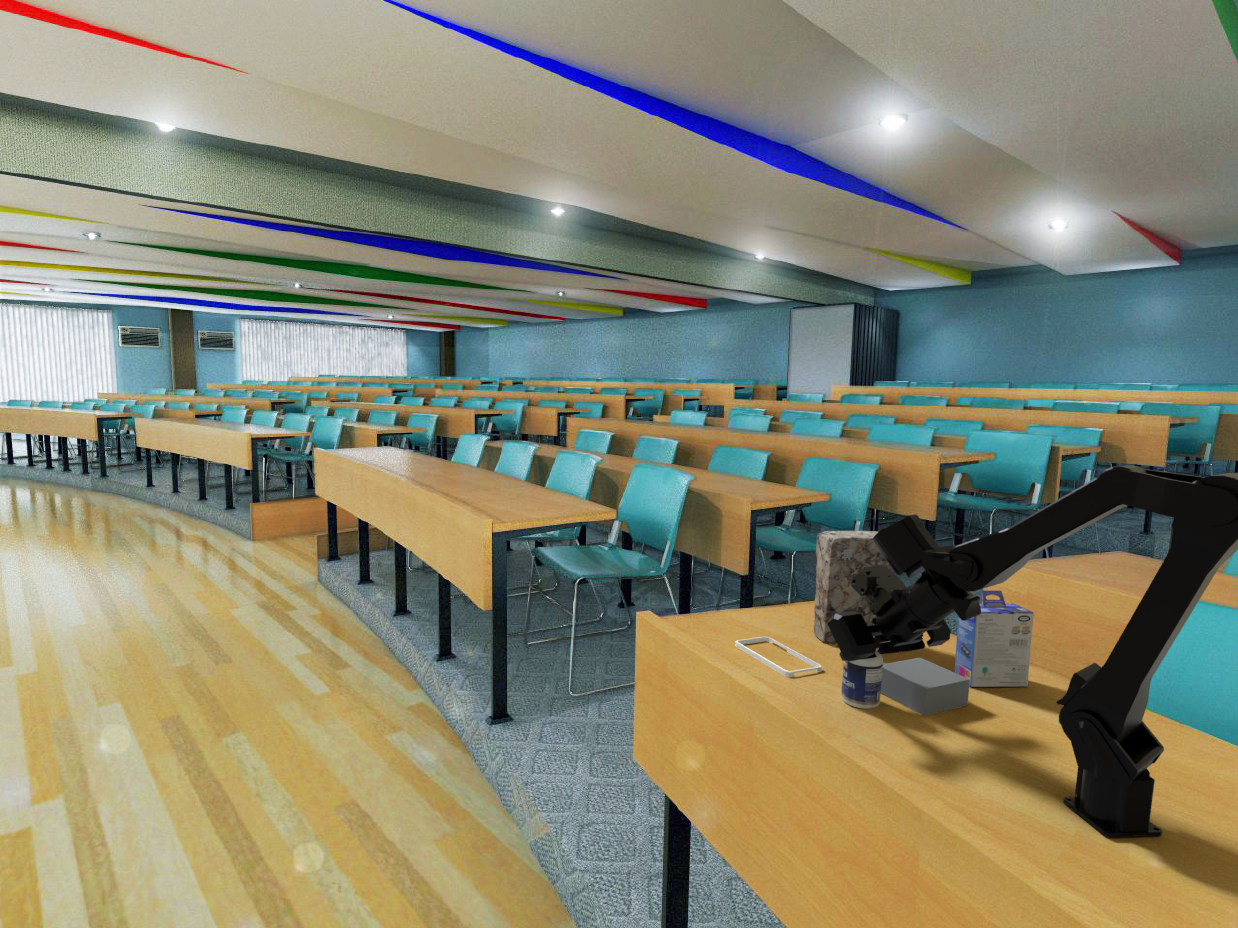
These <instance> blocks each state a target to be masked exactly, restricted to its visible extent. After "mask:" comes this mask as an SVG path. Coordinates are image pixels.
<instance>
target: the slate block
mask: <svg viewBox="0 0 1238 928" xmlns="http://www.w3.org/2000/svg"><path fill="white" fill-rule="evenodd" d="M969 685H970V679H968V678H966V677H963V676H961V675H959V674H957V673H955V671H952V670H950V669H947V668H944V667H943V666H940V665H937V664H935V663H933V662H931V661H929V660H927V659H924V658H922V657H915V658H910V659H904V660H900V661H893V662H888V663H883V667H882V681H881V693H880V694H882V695H884V696H886V697H887V698H889V699H891V700H893V701H895V702H897V703H899V704H901V705H903V706H905V707H906V708H909V709H910V710H912V711H914V712H916V713H918V714H920V715H921V716H923V717H925V716H929V715H933V714H938V713H942V712H946V711H950V710H955V709H959V708H962V707H967V706H968V704H969V693H970V686H969Z"/></svg>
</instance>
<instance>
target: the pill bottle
mask: <svg viewBox="0 0 1238 928" xmlns="http://www.w3.org/2000/svg"><path fill="white" fill-rule="evenodd" d="M878 649H879V648H877V649H876V652H875V654H876V656H877V657H875V658H869V659H864V660H855V661H843V665H842V681H841V690H840V691H841V695H840V696H841V699H842V700H843V702H844V703H846V704H847V705H850V706H851V707H855V708H858V709H865V710H867V709H875V708H877V707H878V706H879V705H880V703H881V702H880V701H881V694H882V693H881V681H882V667H883V664H884V659H883V655H881V654H880V653H879V652H877V650H878Z"/></svg>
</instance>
